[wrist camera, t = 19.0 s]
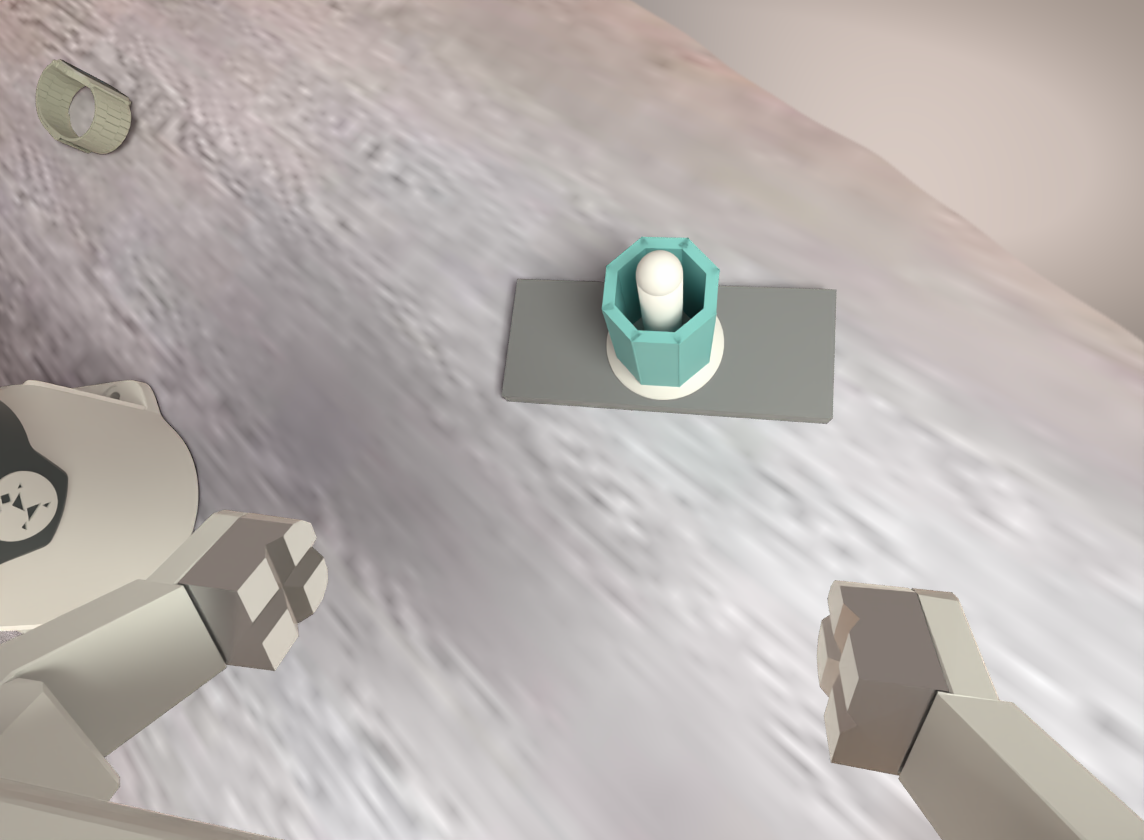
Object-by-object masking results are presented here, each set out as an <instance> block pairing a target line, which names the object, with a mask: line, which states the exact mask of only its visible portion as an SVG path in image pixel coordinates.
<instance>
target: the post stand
mask: <svg viewBox="0 0 1144 840" xmlns="http://www.w3.org/2000/svg"><path fill="white" fill-rule="evenodd" d="M636 282H637V288H638V294H639V301H640V307H641V313H642V317H641V318H640V319H639V320H638V321H636V322H635V323H634V324H633V326H634V327H635V328H636V329H637V330H641V331H662V332H676V331H677V330H678V329H680V328H681V327H682V326H683V325H684V324H686V323H687V322H688V321H689V320H690V318H689V317H688V316H687V315H686V314H685V312H684V311H683V268H682V265H681V263H680V261H679V259H678V258H677V257H676V256H675V255H674V254H672V253H670V252H668V251H664V250H656V251H652V252H650V253H648V254H646V255H645V256H644V257H643V258H642V259H641V260H640V262H639V264H638V266H637V269H636ZM604 285H605V282H595V281H565V280H536V279H517V286H516V293H515V300H514V308H513V315H512V322H511V330H510V337H509V344H508V352H507V359H506V367H505V374H504V381H503V389H502V396H503V397H504V398H505V399H506V400H507V401H511V402H525V403H539V404H553V405H568V406H582V407H596V408H610V409H624V410H638V411H652V412H667V413H681V414H695V415H709V416H723V417H737V418H751V419H766V420H780V421H794V422H808V423H822V424H827V423H828V422H829V421H830V420H831V419H833V386H834V353H835V320H836V290H834V289H804V288H774V287H744V286H718V294H717V309H716V313H717V315H716V322H715V329H714V335H713V342H712V349H711V356H710V362H709V363H708V364H707V365H706V366H705V367H703V368H702V369H701V370H700V371H699V372H697V373H696V374H695V375H694V376H693V377H691V378H690V379H689V380H688V381H687V382H685V383H684V384H683V385H682V386H680V387H668V386H652V385H641V384H640V383H639V382H638V381H637V379H636V378H635V377H634V376H633V375H632V374H631V373H630V372H629V370H628V369H627V368H626V367H625V366H624V365H623V364H622V363H621V361H620V360H619V359H618V358H617V356H616V353H615V350H614V347H613V343H612V340H611V337H610V334H609V331H608V328H607V324H606V321H605V318H604V315H603V312H602V309H601V308H602V304H603V295H604Z"/></svg>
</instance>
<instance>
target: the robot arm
mask: <svg viewBox="0 0 1144 840" xmlns="http://www.w3.org/2000/svg"><path fill="white" fill-rule="evenodd" d="M119 397H120V399H119ZM118 399H119V400H118ZM197 508H198V480H197V474H196V469H195V466H194V462H193V459H192V457H191V454H190V452H189V450H188V448H187V446H186V445H185V443H184V441H183V440H182V439H181V437H180V436H179V435H178V434H177V432H176V431H175V430H174V429H173V428H172V427H171V426H170V425H169V424H168V423H167V422H166V421H165V420H164V419H163V417H162V416H161V414H160V411H159V407H158V404H157V401H156V398H155V395H154V393H153V391H152V389H151V388H150V386H149V385H148V384H146V383H144V382H139V381H134V380H125V381H118V382H111V383H104V384H97V385H90V386H83V387H76V388H67V387H63V386H59V385H55V384H50V383H46V382H41V381H35V380H27V381H25V382H24V383H23V384H22V385H9V386H4V387H0V631H12V630H16V631H19V632H21V633H23V634H22V635H19V636H17V637H15V638H13V639H11V640H9V641H7V642H5V643H3V644H1V645H0V840H283V839H278V838H274V837H269V836H265V835H260V834H256V833H251V832H246V831H242V830H237V829H233V828H228V827H224V826H219V825H215V824H210V823H205V822H201V821H196V820H192V819H187V818H183V817H178V816H174V815H169V814H164V813H160V812H155V811H151V810H146V809H142V808H137V807H133V806H128V805H123V804H119V803H114V802H110V801H109V800H110V799H111V798H112V796H113V795H114V794H115V792H116V791H117V790H118V788H119V787H120V777H119V775H118V774H117V773H116V772H115V770H114V769H113V768H112V767H111V765H110V764H109V763H108V762H107V760H106V759H105V758H104V757H106V756H107V755H109V754H110V753H111V752H113V751H114V750H115V749H117V748H118V747H119V746H121V745H122V744H123V743H125V742H126V741H128V740H129V739H130V738H132V737H133V736H134V735H136V734H137V733H138V732H140V731H141V730H143V729H144V728H145V727H147V726H148V725H149V724H151V723H152V722H153V721H155V720H156V719H158V718H159V717H160V716H162V715H163V714H164V713H166V712H167V711H168V710H170V709H171V708H173V707H174V706H175V705H177V704H178V703H179V702H181V701H182V700H183V699H185V698H186V697H188V696H189V695H190V694H192V693H193V692H194V691H196V690H197V689H198V688H200V687H201V686H202V685H204V684H205V683H207V682H208V681H209V680H211V679H212V678H213V677H215V676H216V675H217V674H219V673H220V672H222V671H223V670H224V669H226V668H227V666H226V665H234V666H242V667H249V668H257V669H264V670H272V671H275V670H276V669H277V667H278V666H279V664H280V663H281V662H282V660H283V659H284V657H285V656H286V654H287V653H288V651H289V650H290V648H291V647H292V645H293V644H294V642H295V641H296V639H297V638H298V636H299V634H298V623H300V622H301V621H303V620H304V619H306V618H308V617H309V616H311V615H312V614H314V612H315V611H316V609H317V608H318V606H319V605H320V603H321V601H322V600H323V597H324V594H325V590H326V587H327V584H328V568H327V565H326V562H325V559H324V557H323V556H322V555H321V554H319V553H318V552H317V551H316V550H315V549H314V548H313V547H312V546H313V544H314V542H315V541H316V539H317V537H316V534H315V532H314V529H313V527H312V525H311V523H309V522H306V521H303V520H298V519H291V518H284V517H277V516H270V515H263V514H256V513H245V512H238V511H231V510H222V511H219V512H216V513H214V514H212V515H211V516H210V517H209V518H208V519H207V520H206V521H205V522H204V523H203V524H202V525H201V526H200V527H199V528H198V529H197V530H196V531H195V532H194V533H193V534H192V531H193V528H194V524H195V520H196V515H197ZM191 534H192V535H191ZM827 600H828V606H829V612H830V615H829V616H827V617H826V618H824V619H823V620H822V621H821V626H820V630H819V635H818V645H817V669H818V678H819V685H820V688H821V689H822V690H823V691H824V692H825V694H826V695H827V696H828V697H829V700H828V703H827V707H826V710H825V714H824V721H825V727H826V734H827V741H828V747H829V754H830V761H831V763H836V764H841V765H846V766H851V767H857V768H862V769H867V770H872V771H878V772H883V773H888V774H893V775H899V778H898V779H899V780H900V782H901V783H902V785H903V786H904V787H905V789H906V790H907V792H908V793H909V794H910V796H911V797H912V799H913V800H914V801H915V803H916V804H917V806H918V807H919V808H920V810H921V811H922V812H923V814H924V815H925V817H926V818H927V819H928V821H929V822H930V824H931V825H932V826H933V828H934V829H935V831H936V832H937V833H938V835H939V836H940V838H941V839H942V840H1144V821H1143V820H1142V819H1141V818H1140V817H1139V816H1138V815H1137V814H1136V813H1135V812H1133V811H1132V810H1131V809H1130V808H1129V807H1128V806H1127V805H1126V804H1125V803H1124V802H1122V801H1121V800H1120V799H1119V798H1118V797H1117V796H1116V795H1115V794H1114V793H1112V792H1111V791H1110V790H1109V789H1108V788H1107V787H1106V786H1105V785H1104V784H1103V783H1101V782H1100V781H1099V780H1098V779H1097V778H1096V777H1095V776H1094V775H1093V774H1091V773H1090V772H1089V771H1088V770H1087V769H1086V768H1085V767H1084V766H1083V765H1082V764H1080V763H1079V762H1078V761H1077V760H1076V759H1075V758H1074V757H1073V756H1072V755H1070V754H1069V753H1068V752H1067V751H1066V750H1065V749H1064V748H1063V747H1062V746H1060V745H1059V744H1058V743H1057V742H1056V741H1055V740H1054V739H1053V738H1052V737H1051V736H1049V735H1048V734H1047V733H1046V732H1045V731H1044V730H1043V729H1042V728H1041V727H1039V726H1038V725H1037V724H1036V723H1035V722H1034V721H1033V720H1032V719H1031V718H1030V717H1028V716H1027V715H1026V714H1025V713H1024V712H1023V711H1022V710H1021V709H1020V708H1018V707H1017V706H1016V705H1015V704H1014V703H1012V702H1007V701H1001V700H999V697H998V695H997V692H996V690H995V687H994V685H993V682H992V680H991V678H990V675H989V673H988V670H987V668H986V665H985V663H984V660H983V658H982V655H981V653H980V650H979V648H978V645H977V643H976V641H975V638H974V636H973V633H972V631H971V628H970V626H969V623H968V621H967V618H966V616H965V613H964V611H963V608H962V606H961V604H960V601H959V599H958V598H957V597H956V596H955V595H954V594H953V593H952V592H943V591H933V590H923V589H914V588H912V589H909V588H905V587H895V586H885V585H876V584H866V583H857V582H847V581H837V580H835V581H834V582H833V584H832V585H831V587H830V591H829V595H828V598H827Z"/></svg>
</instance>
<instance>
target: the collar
mask: <svg viewBox="0 0 1144 840" xmlns="http://www.w3.org/2000/svg"><path fill="white" fill-rule="evenodd" d="M656 250H664V251H668V252H670V253H672V254H674V255H675V256H676V257H677V258H678V259H679V261H680V263H681V265H682V268H683V311H684V312H685V314H686V315H687V316H688V317H689V318H690V320H689V321H688V322H687V323H686V324H684V325H683V326H682V327H681V328H680V329H678V330H677V331H676V332H662V331H641V330H637V329H636V328H635V327H634V326H633V324H634V323H635V322H636V321H638V320H639V319H640V318H641V317H642V313H641V307H640V301H639V294H638V288H637V282H636V269H637V266H638V264H639V262H640V260H641V259H642V258H643V257H644V256H645V255H646V254H648V253H650V252H652V251H656ZM719 272H720V270H719V268H717V267H716V266H715V265H714V264H713V263H712V262H711V261H710V260H709V259H708V258H707V257H706V256H705V255H704V254H703V253H702V252H701V251H700V250H699V249H698V248H697V247H696V246H695V245H694V244H693V243H692V242H691V241H690V240H689V238H664V237H641V238H640V239H639V240H637V241H636V242H635V243H634V244H633V245H631V246H630V247H629V248H628V249H627V250H625V251H624V252H623V253H622V254H620V255H619V256H618V257H617V258H616V259H614V260H613V261H612V262H611V263H610V264H608V265H607V266H606V276H605V285H604V295H603V304H602V308H601V309H602V312H603V315H604V318H605V321H606V324H607V328H608V331H609V334H610V337H611V340H612V343H613V347H614V350H615V353H616V356H617V358H618V359H619V360H620V361H621V363H622V364H623V365H624V366H625V367H626V368H627V369H628V370H629V372H630V373H631V374H632V375H633V376H634V377H635V378H636V379H637V381H638V382H639V383H640V384H641V385H652V386H668V387H680V386H682V385H683V384H684V383H685V382H687V381H688V380H689V379H690V378H691V377H693V376H694V375H695V374H696V373H697V372H699V371H700V370H701V369H702V368H703V367H705V366H706V365H707V364H708V363H709V362H710V356H711V349H712V342H713V335H714V329H715V322H716V315H717V313H716V309H717V294H718V280H719Z"/></svg>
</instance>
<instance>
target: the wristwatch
mask: <svg viewBox="0 0 1144 840" xmlns="http://www.w3.org/2000/svg"><path fill="white" fill-rule="evenodd" d="M84 86H87V87H88V88H90V89H91V91H92V94H93V96H94V100H95V115H94V118H93V122H92V124H91V126H90V128H89V129H88V131H87V132H86V133H85V134H84V135H83V136H81V137H78V136H77V134H75V132H74V130H73V129H72V126H71V123H70V115H69V114H68V109H69V106H70V103H71V101H72V97H74V95H75V94H76V93H77V92H78V91H79V90H80V88H82V87H84ZM131 103H132V102H131V101H129V98H128V97H127V96H125V95H124V94H123V93H121V92H120V91H118V90H117V89H115V88H114V87H112V86H110V85H109V84H107V83H105V82H103V81H101V80H99V79H98V78H96V77H94V76H92V75H90V74H88V73H86V72H84V71H82V70H80V69H78V68H77V67H75V66H73V65H71V64H69V63H67V62H65V61H63V60H61V59H59V60H57V61H56V60H53V61H52V63H51V64H50V65H48V66H47V67H46V68H45V69H44V70H43V72H42V75H41V76H40V78H39V81H38V84H37V89H36V108H37V114H38V117H39V119H40V121H41V123H42V125H43V126H44V127H45V129H46V130H47V131H48V132H49V134H50V135H51V136H52V137H53V138H54V139H55V140H57V141H60V142H62V143H64V144H67V145H69V146H72V147H74V148H76V149H79V150H81V151H83V152H86V153H91V152H95V153H98V154H107V153H109V152H112V151H114V150H115V149H117V147H118V146H120V145H121V144H122V142H123V141H124V139H125V138H126V137H125V136H126V135H127V133H128V131H129V128H130V125H131V111H130V108H129V107H130V105H131Z"/></svg>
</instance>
